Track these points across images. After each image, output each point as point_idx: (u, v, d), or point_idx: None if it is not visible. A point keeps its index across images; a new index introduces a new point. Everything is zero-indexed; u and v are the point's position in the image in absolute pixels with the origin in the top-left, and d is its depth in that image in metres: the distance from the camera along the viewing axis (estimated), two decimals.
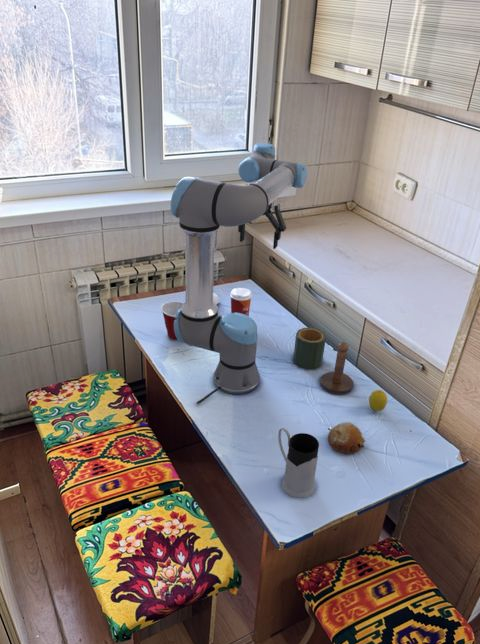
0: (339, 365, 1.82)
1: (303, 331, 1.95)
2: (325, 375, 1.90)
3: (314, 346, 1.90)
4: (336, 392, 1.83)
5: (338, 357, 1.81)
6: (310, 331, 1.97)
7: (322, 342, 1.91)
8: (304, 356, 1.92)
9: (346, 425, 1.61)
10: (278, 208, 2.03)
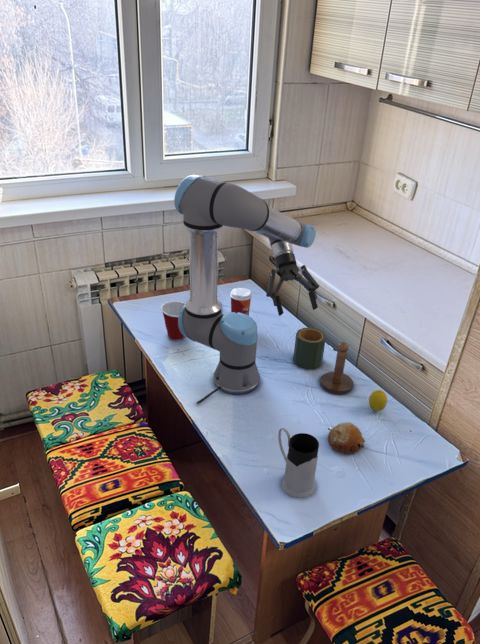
0: (339, 365, 1.82)
1: (303, 331, 1.95)
2: (325, 375, 1.90)
3: (314, 346, 1.90)
4: (336, 392, 1.83)
5: (338, 357, 1.81)
6: (310, 331, 1.97)
7: (322, 342, 1.91)
8: (304, 356, 1.92)
9: (346, 425, 1.61)
10: None
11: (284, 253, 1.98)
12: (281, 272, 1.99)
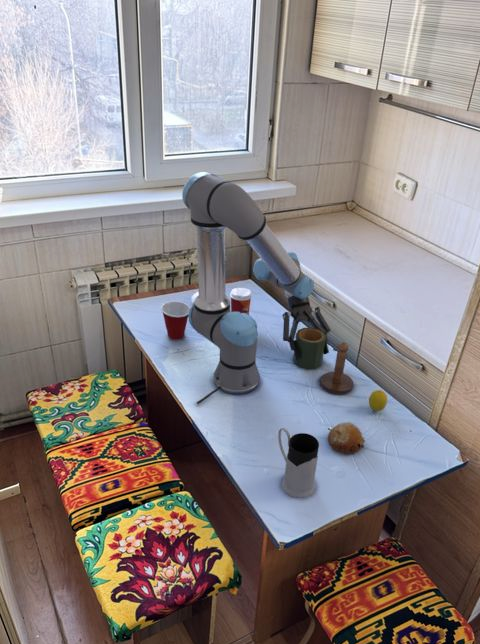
0: (339, 365, 1.82)
1: (303, 331, 1.95)
2: (325, 375, 1.90)
3: (314, 346, 1.90)
4: (336, 392, 1.83)
5: (338, 357, 1.81)
6: (310, 331, 1.97)
7: (322, 342, 1.91)
8: (304, 356, 1.92)
9: (346, 425, 1.61)
10: None
11: None
12: (294, 313, 1.95)
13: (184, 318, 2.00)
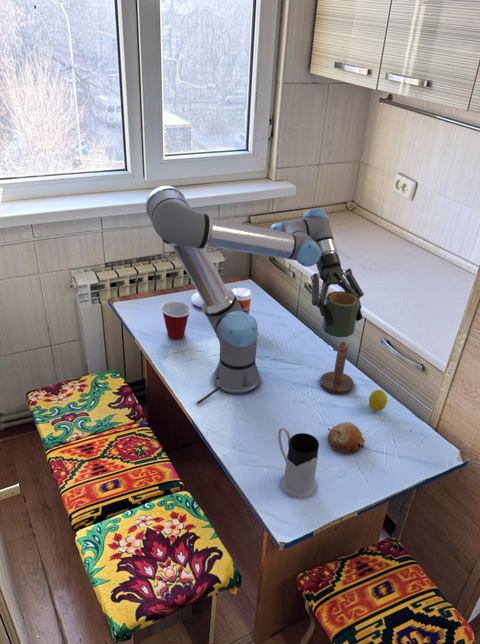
0: (339, 365, 1.82)
1: (333, 294, 1.76)
2: (325, 375, 1.90)
3: (347, 310, 1.71)
4: (336, 392, 1.83)
5: (338, 357, 1.81)
6: (341, 295, 1.78)
7: (356, 306, 1.72)
8: (335, 322, 1.73)
9: (346, 425, 1.61)
10: None
11: (328, 254, 1.75)
12: (324, 275, 1.76)
13: (184, 318, 2.00)
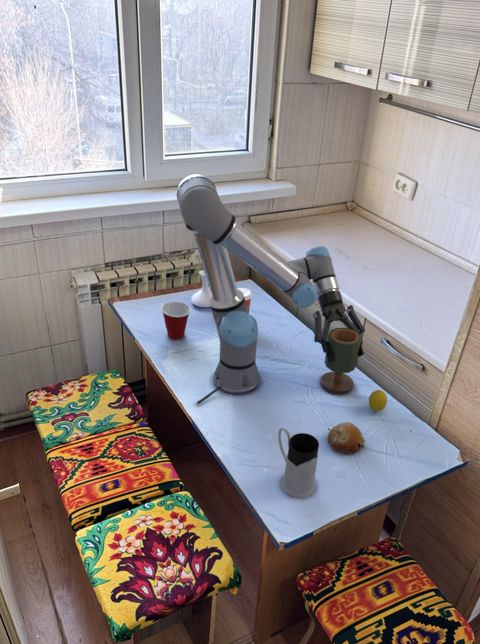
0: None
1: (335, 331, 1.80)
2: (325, 375, 1.90)
3: (349, 348, 1.74)
4: (336, 392, 1.83)
5: None
6: (343, 331, 1.81)
7: (357, 343, 1.75)
8: (337, 359, 1.77)
9: (346, 425, 1.61)
10: None
11: (330, 291, 1.79)
12: (326, 312, 1.79)
13: (184, 318, 2.00)
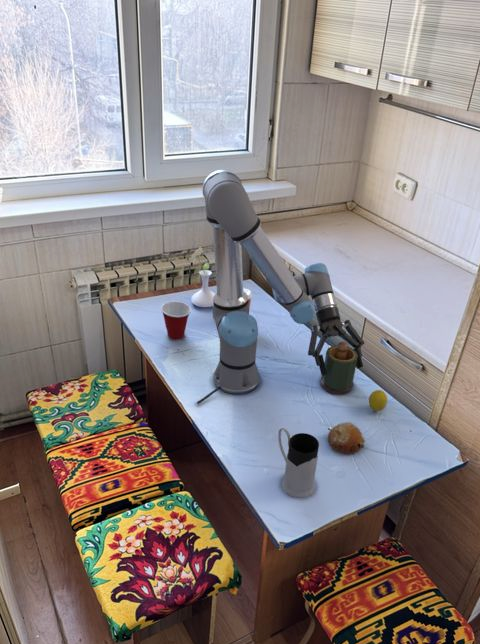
0: None
1: (333, 349, 1.84)
2: None
3: (346, 366, 1.78)
4: (336, 392, 1.83)
5: (338, 357, 1.81)
6: None
7: (354, 361, 1.79)
8: (334, 376, 1.81)
9: (346, 425, 1.61)
10: None
11: (327, 308, 1.82)
12: (324, 328, 1.83)
13: (184, 318, 2.00)
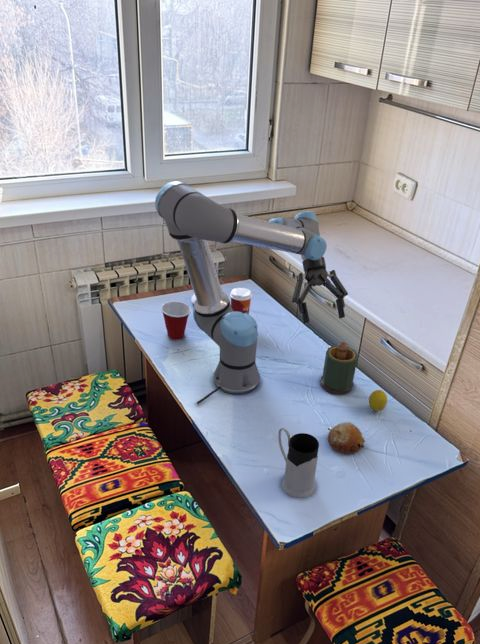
0: None
1: (333, 349, 1.84)
2: None
3: (346, 366, 1.78)
4: (336, 392, 1.83)
5: (338, 357, 1.81)
6: None
7: (354, 361, 1.79)
8: (334, 376, 1.81)
9: (346, 425, 1.61)
10: None
11: None
12: (309, 277, 1.86)
13: (184, 318, 2.00)
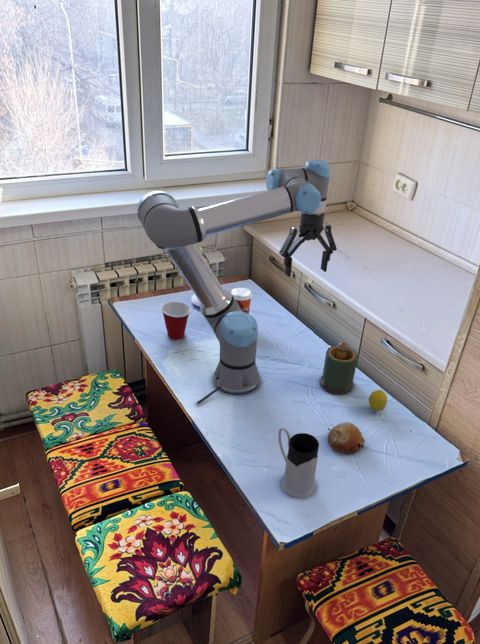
0: None
1: (333, 349, 1.84)
2: None
3: (346, 366, 1.78)
4: (336, 392, 1.83)
5: (338, 357, 1.81)
6: None
7: (354, 361, 1.79)
8: (334, 376, 1.81)
9: (346, 425, 1.61)
10: None
11: (314, 216, 1.74)
12: (303, 232, 1.79)
13: (184, 318, 2.00)
